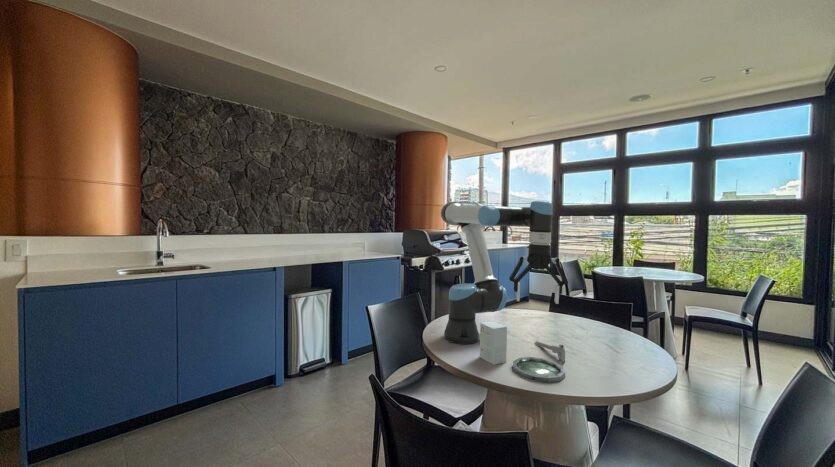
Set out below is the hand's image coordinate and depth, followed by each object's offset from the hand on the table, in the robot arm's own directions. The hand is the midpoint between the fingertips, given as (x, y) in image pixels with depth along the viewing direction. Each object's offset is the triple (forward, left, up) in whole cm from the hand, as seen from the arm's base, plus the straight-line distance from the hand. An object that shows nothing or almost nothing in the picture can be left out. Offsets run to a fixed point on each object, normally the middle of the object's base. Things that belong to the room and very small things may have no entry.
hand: (536, 301), depth 122 cm
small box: (-11, -11, -22) cm, 27 cm away
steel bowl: (+5, -8, -22) cm, 24 cm away
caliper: (0, +12, -22) cm, 26 cm away
